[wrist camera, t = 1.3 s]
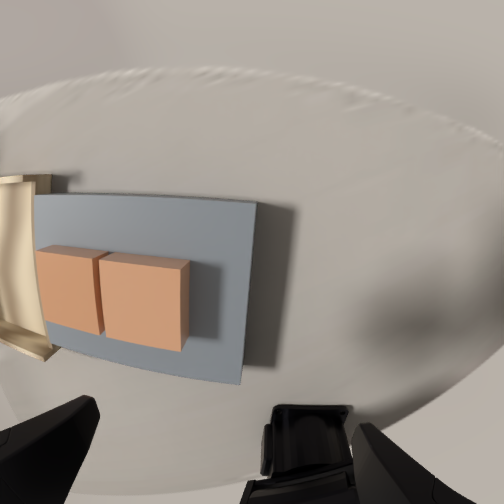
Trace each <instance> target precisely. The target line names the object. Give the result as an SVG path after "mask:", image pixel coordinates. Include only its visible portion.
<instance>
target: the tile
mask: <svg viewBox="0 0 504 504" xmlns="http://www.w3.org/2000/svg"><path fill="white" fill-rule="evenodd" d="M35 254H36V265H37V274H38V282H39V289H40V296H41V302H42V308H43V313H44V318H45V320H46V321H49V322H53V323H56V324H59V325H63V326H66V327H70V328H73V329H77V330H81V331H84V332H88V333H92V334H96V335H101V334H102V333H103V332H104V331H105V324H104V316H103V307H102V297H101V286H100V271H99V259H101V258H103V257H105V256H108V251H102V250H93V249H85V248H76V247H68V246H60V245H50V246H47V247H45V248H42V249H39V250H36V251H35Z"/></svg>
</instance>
